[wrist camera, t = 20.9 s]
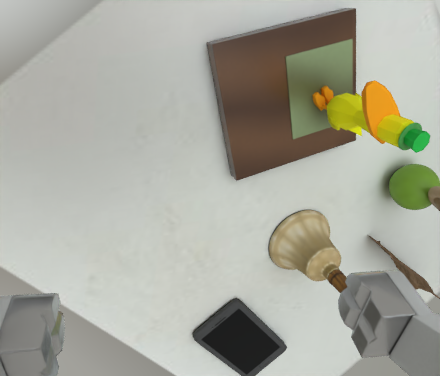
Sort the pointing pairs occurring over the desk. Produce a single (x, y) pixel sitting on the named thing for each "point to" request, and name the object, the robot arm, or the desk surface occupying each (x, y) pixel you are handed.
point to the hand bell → (307, 248)
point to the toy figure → (372, 116)
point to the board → (282, 89)
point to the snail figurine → (415, 187)
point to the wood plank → (409, 272)
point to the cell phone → (240, 339)
